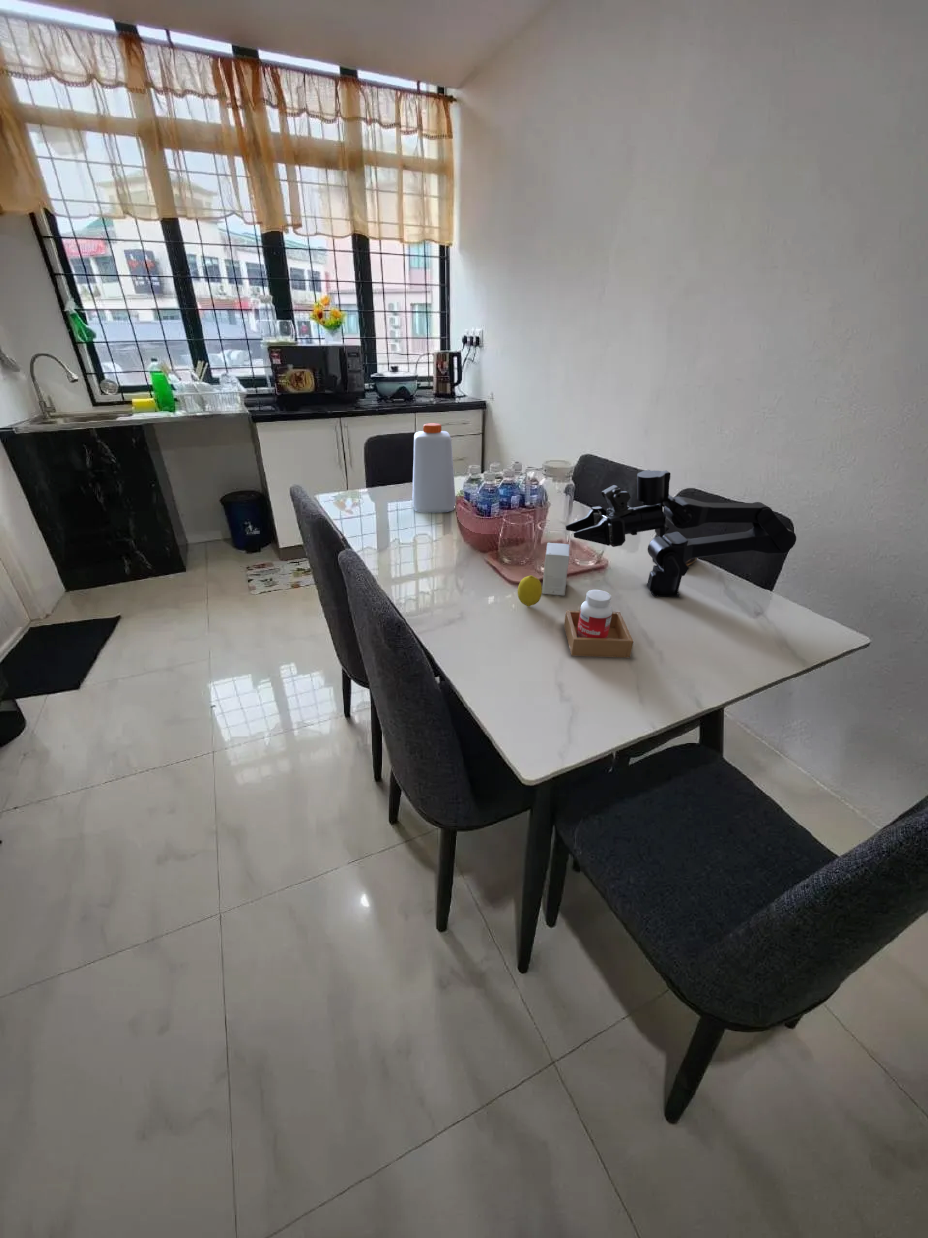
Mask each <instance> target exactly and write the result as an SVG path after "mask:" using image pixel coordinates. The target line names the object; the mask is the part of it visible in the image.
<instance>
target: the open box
mask: <svg viewBox="0 0 928 1238" xmlns="http://www.w3.org/2000/svg"><path fill="white" fill-rule="evenodd" d="M579 615H580V610H569V609H567V610H565V614H564V621H563V622H564V623H563V628H564V631H565V636H566V640H567V643H568V647H569V651H570V655H571V657H595V658H596V657H600V658H626V659H627V658H628V659H630V658H631V655H632V651H633V647H634V642H635V641H634V639H633V637H632V635H631V633H630V630H629V628H628V626H627V623H626V621H625V619H624V617H623V615H622V613H621V611H612V617H611V622H610V627H609V632H608V637H607V638H580V637H577V635H576V634H577V628H578V622H579Z"/></svg>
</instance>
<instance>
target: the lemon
mask: <svg viewBox="0 0 928 1238" xmlns="http://www.w3.org/2000/svg"><path fill="white" fill-rule="evenodd" d="M542 587H543V585H542V582H541V581H540V579H539V578H537V577H536V576H533V574H530V575H527V576H525V577H523V578H522V579H521V580H520V582H519V583H518V587H517V597H518V600H519V601H520V602H521V604H522V605H524V606H526V607H528V608H529V607H532V606H534V605H537V604H538V603H539V602H540V600H541V598H542V595H543V594H542Z"/></svg>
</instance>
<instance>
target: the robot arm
mask: <svg viewBox="0 0 928 1238" xmlns="http://www.w3.org/2000/svg"><path fill="white" fill-rule="evenodd" d="M670 480H671V472H669V471H668V470H651V469H647V470H642V471H639V472H637V474H636V481H637V482H636V499H637V501H638V502H641V506H636V507H631V506H630V505H628V502H629V501H630V500H631V498H632V497H631V495H630V492H629V491H626V490H623V491H622V488H620V487H619V486H618V485H615V484H613V485H611V486H609V487H607V488H606V489H603V490H602V491H601V492H600V494H601V497H603V499H604V500H605V502H606V504H607V507H608V508H606V509H604V508H603V507H601V506H600V505H598V506H592V507H591V508H590V509H589V510H588V512H587V514H586V516H584V517H582V518H580V519H578V520H576V521H573V522H571V523H569V524H566V525H565V530H566V531H568V532H573V537H574V538H575V539H577V540H583V541H587V542H591V543H596V544H601V545H604V546H611V547H613V548H616V547H622V546H623V545H624V544H625V542H626V535H631V536H637V535H638V533H643V532H648V531H654V532H655V534H656V535H657V536H654V537H653V538H652V539H651V541H649V544H648V545H647V553H648V555H649V556H650V558H651V559H652V562H653V563H654V564H655V565H653V567H652V570H651V571H649V574H648V580H647V583H646V588H648V590H649V592H650V593H651V595H652V596H653V597H659V598H660V597H661V598H680V597H681V593H679V589H680V586H681V581H682V577H684V576H686V574H687V573H688V571H690V568H689V565H688V566H687V565H686V564H685V563H686V562H687V561H689V560H690V559H692V558H697V559H698V558H705V557H706V558H707V557H714V556H722V555H729V554H736V553H744V552H745V553H746V552H758V553H763V554H767V555H783V554H787V553H789V552H790V551H791V550H792V549H793V547H794V546H795V545H796V542H797V534H796V533H795V532H794V531H792V530H791V529H789V528H787V527H786V525H785V524H784V523H783V522H782V521H781V520H780V519H779V517H777V516H776V514H775V512H774V511H773V508H771V507H770V506H768V505H767V504H764V503H763V502H762V501H761V502H760V501H755V502H705V501H701V500H697V499H694V498H690V497H684V496H672V495H671V494H670ZM667 520H668V522H670V523H671V524H672V525H673V526H674V527H676V528H678V529H681V530H685V529H691V528H697V527H699V526H701V525H703V524H708V523H727V524H728V523H732V524H733V523H736V524H737V523H741V524H744V523H746V524H751V525H752V528H751V529H749V530H747V531H739V532H733V533H732V532H731V533H724V534H723V533H722V534H715V535H708V536H700V537H694V538H687V537H685V536H684V535H683V534H681V532H679V531H673V532H669V533H667V531H669V530H670V527H669V526H668V525H666V521H667Z"/></svg>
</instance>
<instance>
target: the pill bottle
mask: <svg viewBox="0 0 928 1238" xmlns="http://www.w3.org/2000/svg"><path fill="white" fill-rule="evenodd" d="M611 599H612V595H611V593H609V592H608V591H606V590H602V589H590V590H588V591H586V595H585V601H583V602H582V603H581V605H580V609H579V611H580V615H579V622H578V628H577V634H576V635H577V637H580V638H607V637H608V632H609V627H610V622H611V617H612V612H613V607H612V606H611V601H612V600H611Z"/></svg>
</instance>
